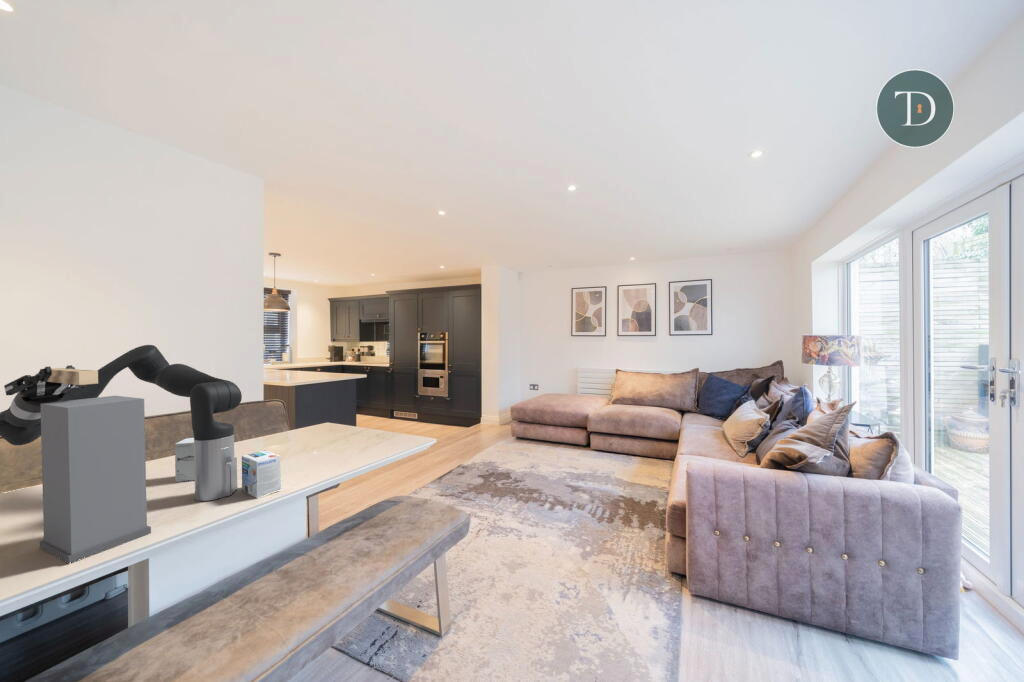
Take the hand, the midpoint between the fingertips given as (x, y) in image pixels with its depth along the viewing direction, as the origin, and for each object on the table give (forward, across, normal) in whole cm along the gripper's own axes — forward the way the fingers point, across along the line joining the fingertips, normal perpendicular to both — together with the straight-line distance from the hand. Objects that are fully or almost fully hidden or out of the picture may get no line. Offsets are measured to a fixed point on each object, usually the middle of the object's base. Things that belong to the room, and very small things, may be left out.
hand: (60, 369), depth 92 cm
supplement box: (-26, +31, +30) cm, 51 cm away
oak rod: (+2, 0, +5) cm, 5 cm away
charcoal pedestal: (-4, 0, +42) cm, 43 cm away
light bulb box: (+2, +32, +46) cm, 57 cm away
